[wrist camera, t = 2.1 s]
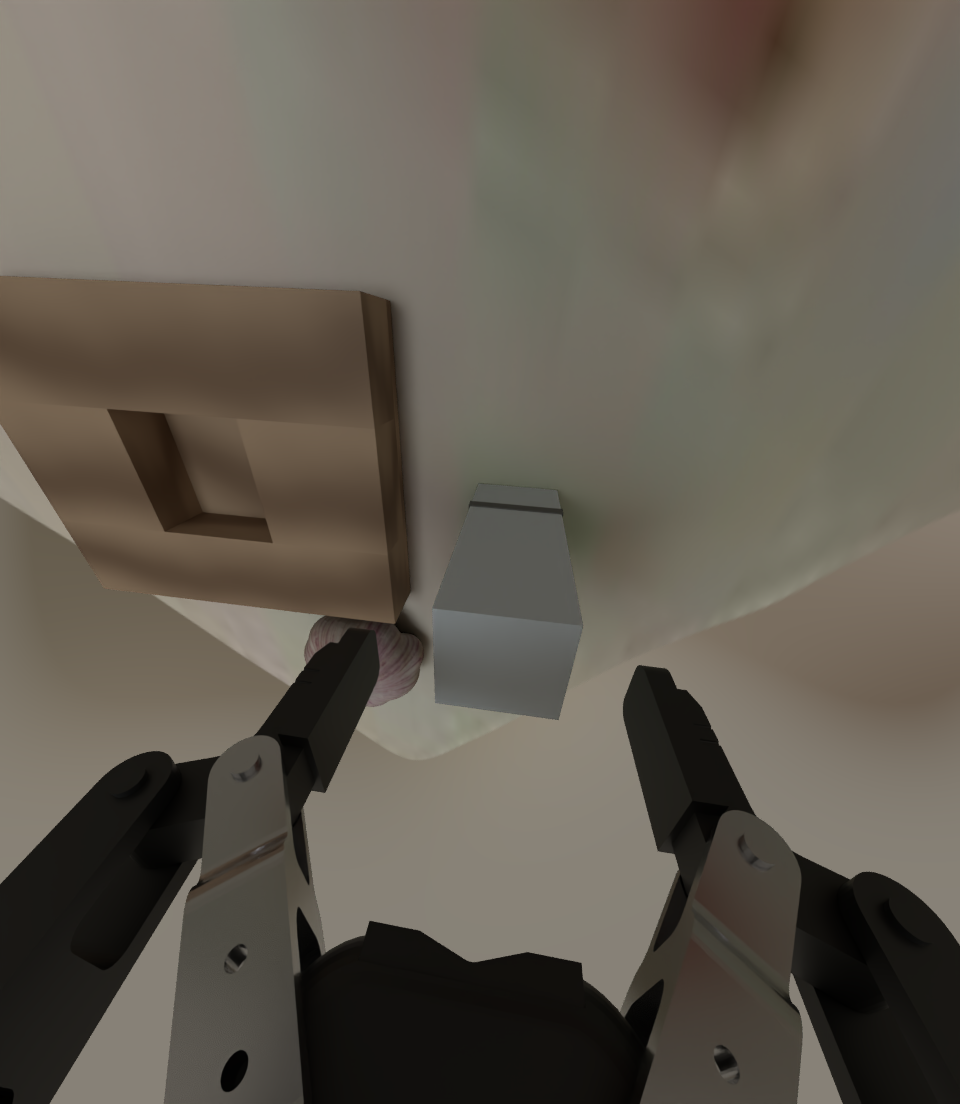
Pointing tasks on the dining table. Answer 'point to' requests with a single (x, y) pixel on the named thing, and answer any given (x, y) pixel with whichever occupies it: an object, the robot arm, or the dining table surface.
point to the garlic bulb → (394, 649)
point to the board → (214, 438)
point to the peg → (508, 607)
